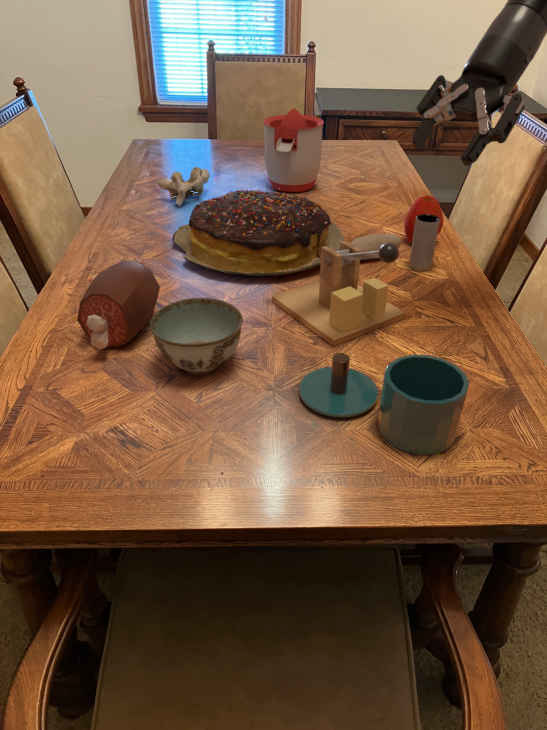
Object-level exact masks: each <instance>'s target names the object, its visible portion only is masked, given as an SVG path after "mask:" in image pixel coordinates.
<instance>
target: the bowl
mask: <svg viewBox="0 0 547 730" xmlns="http://www.w3.org/2000/svg"><path fill="white" fill-rule="evenodd" d="M243 323H244V318H243V314H242V313H241V311H240V310H239V309H238V307H236V306H234V305H233V304H231V303H229V302H226V301H224V300H221V299H218V298H217V299H216V298H211V297H191V298H185V299H181V300H176V301H174V302H170V303H169V304H167V305H165V306H163V307H161V308H160V309H159V310H157V311H156V312H155V314H153V315H152V317H151V318H150V320H149V331H150V332H151V334H152V335H153V337H154V340H155V343H156V345H157V348H158V350H159V352H160V353H161V355H162V356H163V357H164V358H165V360H167V361H168V362H169V363H170V364H171V365H173V366H175V367H177V368H178V369H179V368H180V369H181V370H184V371H185V372H186V373H188V374H190V375H193V376H194V375H196V376H202V375H208V374H211V373H213V372H214V371H216V370H217V369H219V367H220V366H221V365H223V364H224V363H226V362H227V361H228V360H229V359H230V358H231V357H232V356H233V354H234V353H235V351H236V349H237V348H238V346H239V342H240V339H241V334H242V326H243Z"/></svg>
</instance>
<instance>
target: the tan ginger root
mask: <svg viewBox="0 0 547 730" xmlns="http://www.w3.org/2000/svg"><path fill="white" fill-rule="evenodd" d="M210 177H211V175H210V172H209V171H208V169H207V168H200V167H199V166H195V167H193V168H192V169H191V170H190V175H189V178H188V179H187V180H184V178H183V175H182V173H181V172H180V171H173V172H172V174H171V176H170V178H168V177H164V178H159V179H157V185H158V186H159V188H160V189H161V190H164V191H167V192H168V193H169V200H170V202H173V201H175V205H177V206H178V208H181V207H182V205H183V203H184V202H185V201H186V199H187V198H188V197H195V196H196V197H197V196H201V195H202V194H203V193H204V192H203V191H204V190H205V187H204V184H205V185H206V184H207V183H208V182H209V179H210ZM191 191H194V192H198V193H194V192H191ZM193 193H194V194H193ZM174 196H177V197H174ZM170 197H171V198H170ZM172 197H174V198H172ZM176 202H177V203H176ZM178 203H179V204H178ZM181 203H182V204H181Z"/></svg>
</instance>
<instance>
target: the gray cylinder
mask: <svg viewBox="0 0 547 730" xmlns="http://www.w3.org/2000/svg"><path fill="white" fill-rule="evenodd" d="M439 222H440V218H439V217H437V216H435V215H432V214H420V215H418V216H416V221H415V227H414V234H413V240H412V243H411V247H410V254H409V261H408V267H409V268H410V269H412V270H414V271H418V272H426V271H429V270H431V269H432V266H433V261H434V255H435V250H436V243H437V237H438V235H437V233H438V227H439Z"/></svg>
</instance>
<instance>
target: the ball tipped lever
mask: <svg viewBox="0 0 547 730" xmlns="http://www.w3.org/2000/svg"><path fill="white" fill-rule="evenodd" d="M336 252H338V253H340V254H341V255H343V256H342V266H345V265H348V264H351V263H352V260H360V261H361V260H372V258H373V259H380V260H381V261H382V262H383V263H386V264H392V263H394V262H395V261H397V259H398V258H399V255H400V250H399V247H398V248H397V246H396V245H395V244H392V243H386V244H384V245H382V246H381V247H380V249H379V250H378V251H369V252H361V253H352V254H350V251H349V249H346V250H339V251H336Z"/></svg>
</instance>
